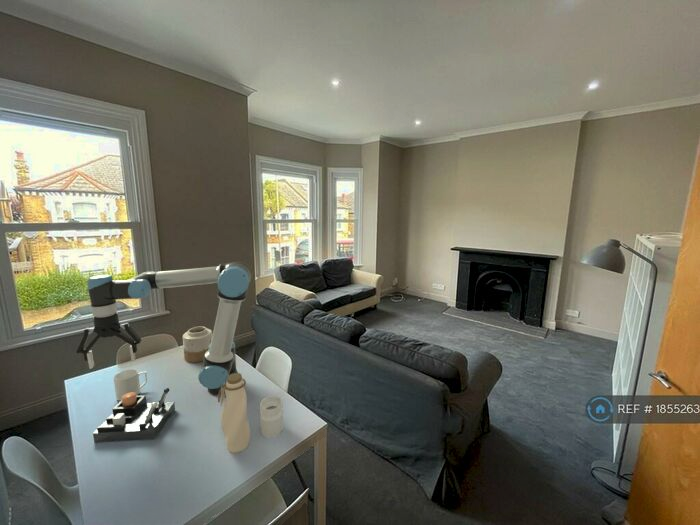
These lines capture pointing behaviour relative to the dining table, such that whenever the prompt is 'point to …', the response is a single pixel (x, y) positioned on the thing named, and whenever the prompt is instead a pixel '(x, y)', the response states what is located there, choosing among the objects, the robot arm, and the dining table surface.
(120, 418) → the slider
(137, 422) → the panel
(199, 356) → the vase
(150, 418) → the lever
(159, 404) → the lever
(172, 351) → the dining table surface
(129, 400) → the button
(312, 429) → the dining table surface
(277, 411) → the cream cylinder
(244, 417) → the water bottle
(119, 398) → the mug
